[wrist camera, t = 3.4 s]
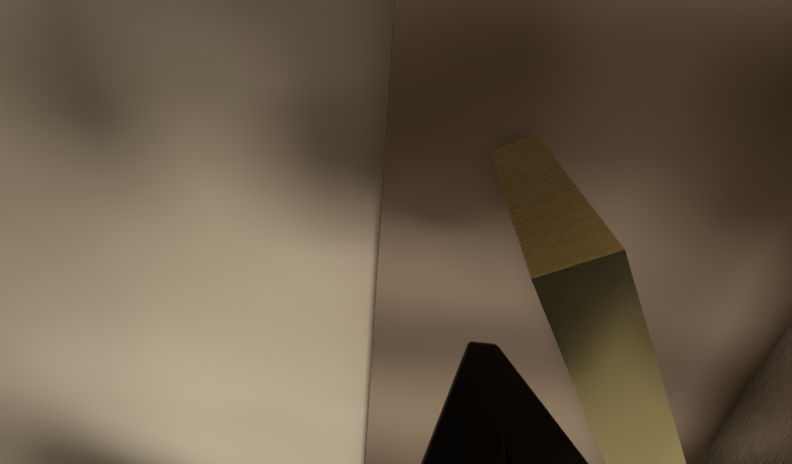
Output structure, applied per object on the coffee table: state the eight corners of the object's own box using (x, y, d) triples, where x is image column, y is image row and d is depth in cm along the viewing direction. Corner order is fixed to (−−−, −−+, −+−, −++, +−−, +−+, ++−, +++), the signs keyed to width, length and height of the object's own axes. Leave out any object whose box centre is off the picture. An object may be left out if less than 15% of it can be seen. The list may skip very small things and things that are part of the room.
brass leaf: (659, 496, 14) (761, 725, 9) (626, 501, 14) (710, 726, 10) (535, 132, 9) (624, 250, 4) (490, 152, 9) (530, 278, 5)
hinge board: (795, 595, 17) (811, 620, 16) (362, 526, 18) (359, 547, 18) (1473, -39, 7) (1588, -45, 6) (406, -109, 8) (402, -122, 7)
